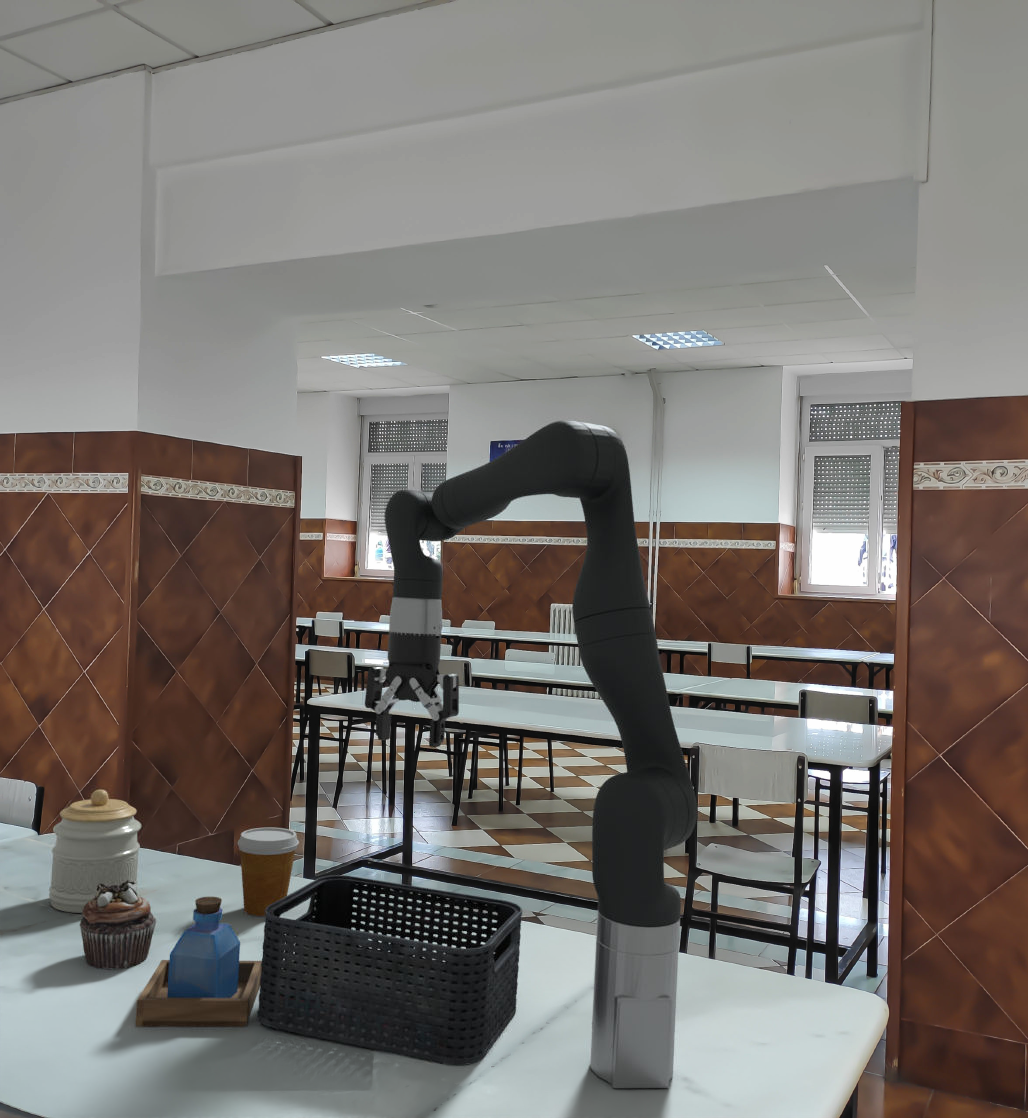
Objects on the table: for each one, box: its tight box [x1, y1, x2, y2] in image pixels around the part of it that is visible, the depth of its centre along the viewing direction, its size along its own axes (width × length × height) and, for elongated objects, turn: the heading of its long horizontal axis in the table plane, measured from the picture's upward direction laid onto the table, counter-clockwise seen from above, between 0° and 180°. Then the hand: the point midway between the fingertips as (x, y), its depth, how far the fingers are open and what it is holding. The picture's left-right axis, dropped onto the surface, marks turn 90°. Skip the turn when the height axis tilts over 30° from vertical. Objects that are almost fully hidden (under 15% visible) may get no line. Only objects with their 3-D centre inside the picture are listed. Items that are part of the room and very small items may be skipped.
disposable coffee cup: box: [236, 827, 300, 917], centre depth 160 cm, size 10×10×12 cm
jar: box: [48, 789, 142, 914], centre depth 160 cm, size 13×13×18 cm
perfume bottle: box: [167, 896, 241, 998], centre depth 124 cm, size 6×6×12 cm
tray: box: [134, 959, 262, 1028], centre depth 124 cm, size 13×13×3 cm
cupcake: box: [79, 880, 157, 970], centre depth 138 cm, size 10×10×10 cm
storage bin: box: [256, 874, 523, 1066], centre depth 124 cm, size 29×19×13 cm
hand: (409, 743), depth 145 cm, fingers open, 8 cm apart
